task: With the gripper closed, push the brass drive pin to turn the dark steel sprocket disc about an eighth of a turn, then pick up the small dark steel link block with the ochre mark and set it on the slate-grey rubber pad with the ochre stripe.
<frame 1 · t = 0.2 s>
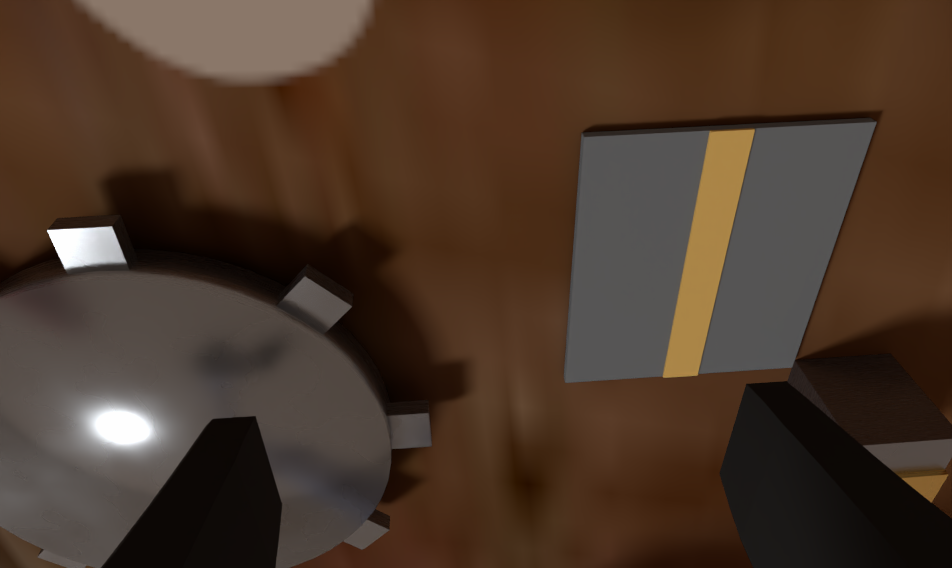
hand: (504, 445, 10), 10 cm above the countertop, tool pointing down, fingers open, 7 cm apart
pad: (699, 262, 21), on the countertop
link: (821, 404, 25), on the countertop
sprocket: (160, 485, 21), point 3 cm above the countertop, hinge at 0.0°
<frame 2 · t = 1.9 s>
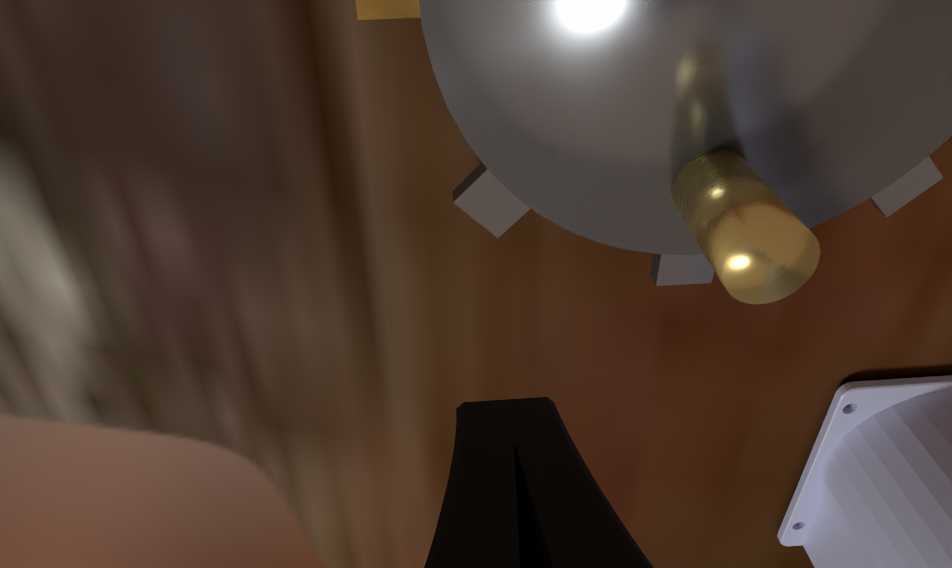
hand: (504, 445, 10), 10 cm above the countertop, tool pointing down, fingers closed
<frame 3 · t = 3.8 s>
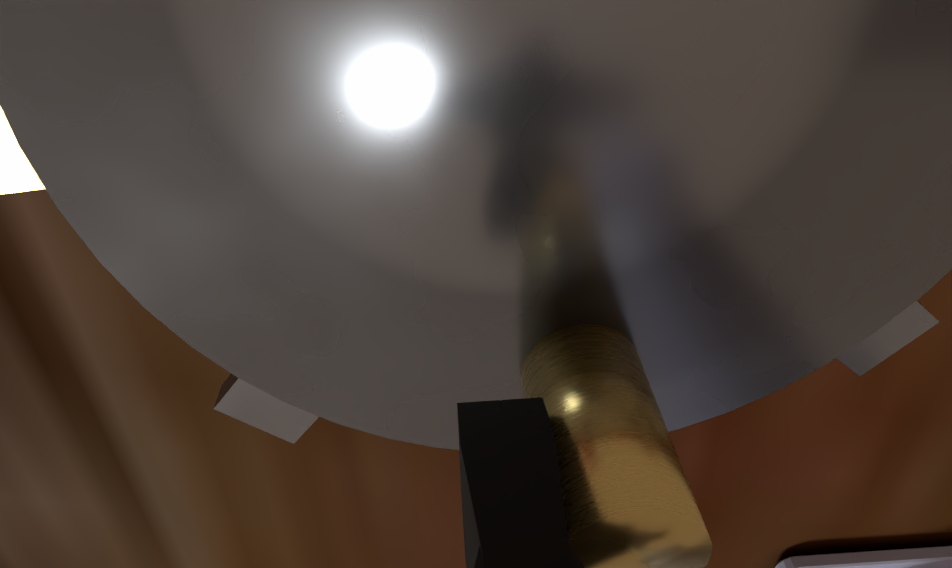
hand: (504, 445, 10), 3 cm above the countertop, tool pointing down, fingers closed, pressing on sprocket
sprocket: (591, 107, 8), point 3 cm above the countertop, hinge at 5.3°, touching gripper
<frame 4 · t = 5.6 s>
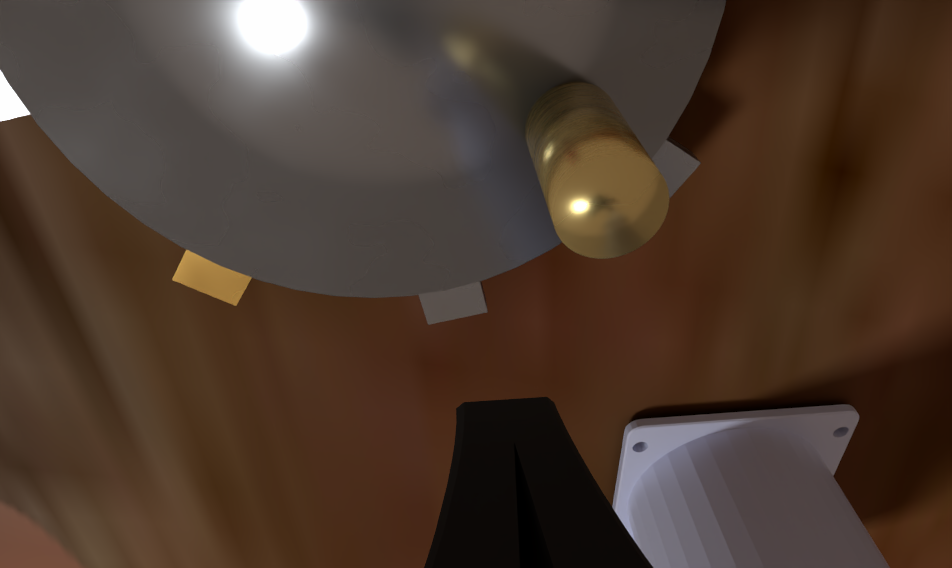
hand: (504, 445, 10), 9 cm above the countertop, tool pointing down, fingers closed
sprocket: (356, 8, 12), point 3 cm above the countertop, hinge at 55.6°
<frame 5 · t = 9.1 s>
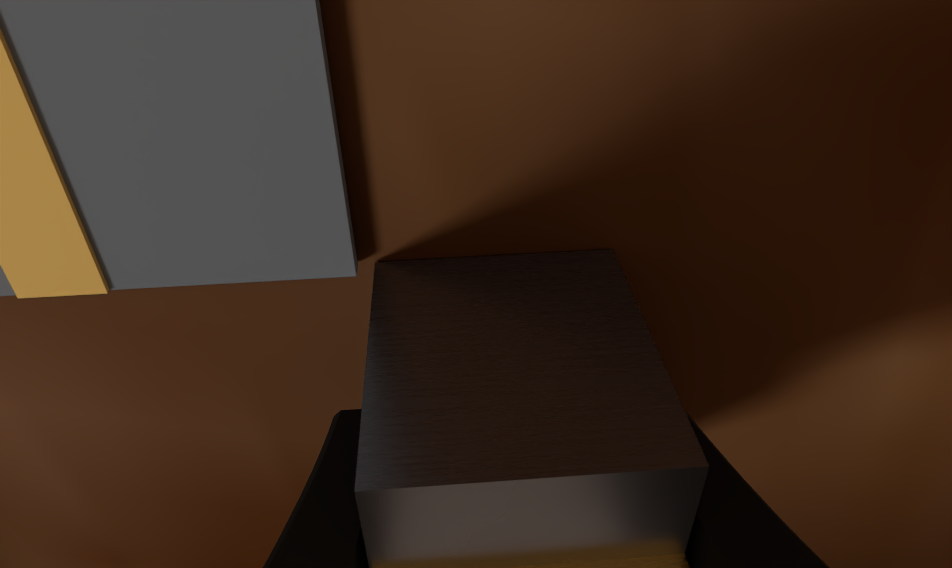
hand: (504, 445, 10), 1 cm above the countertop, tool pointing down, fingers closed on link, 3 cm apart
link: (495, 380, 11), on the countertop, touching gripper
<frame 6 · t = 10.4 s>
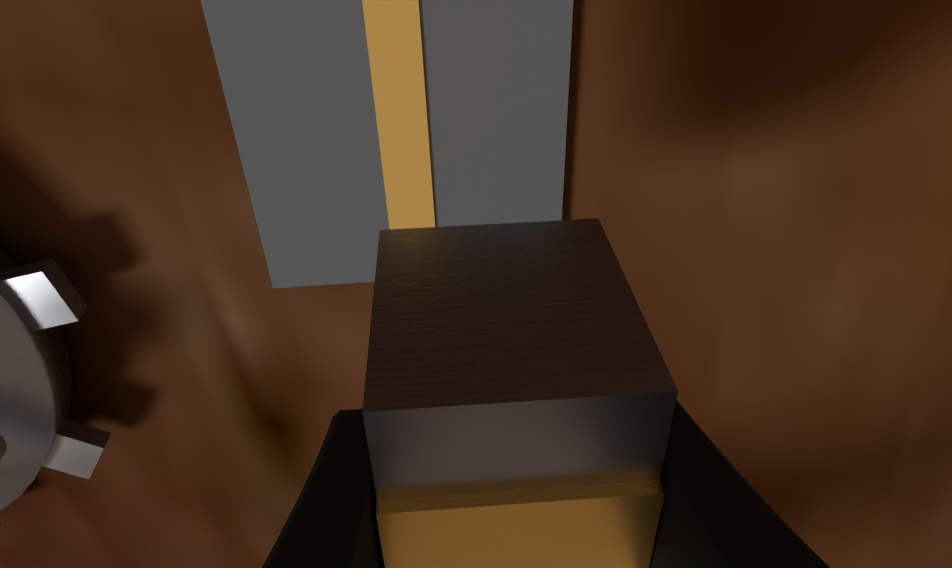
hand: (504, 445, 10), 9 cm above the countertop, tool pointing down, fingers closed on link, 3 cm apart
pad: (402, 121, 16), on the countertop
link: (490, 345, 12), point 7 cm above the countertop, touching gripper
when the fingers open (3 cm above the countertop, at t = 12.1 s): link stays where it is, resting on pad.
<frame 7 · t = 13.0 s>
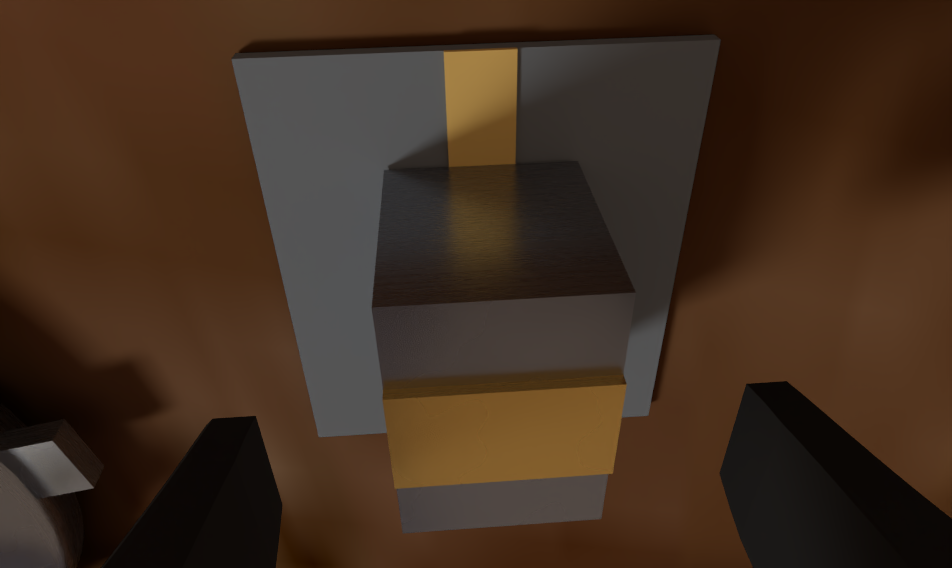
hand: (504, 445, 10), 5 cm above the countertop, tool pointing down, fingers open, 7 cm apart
pad: (482, 266, 14), on the countertop
link: (483, 278, 14), resting on pad
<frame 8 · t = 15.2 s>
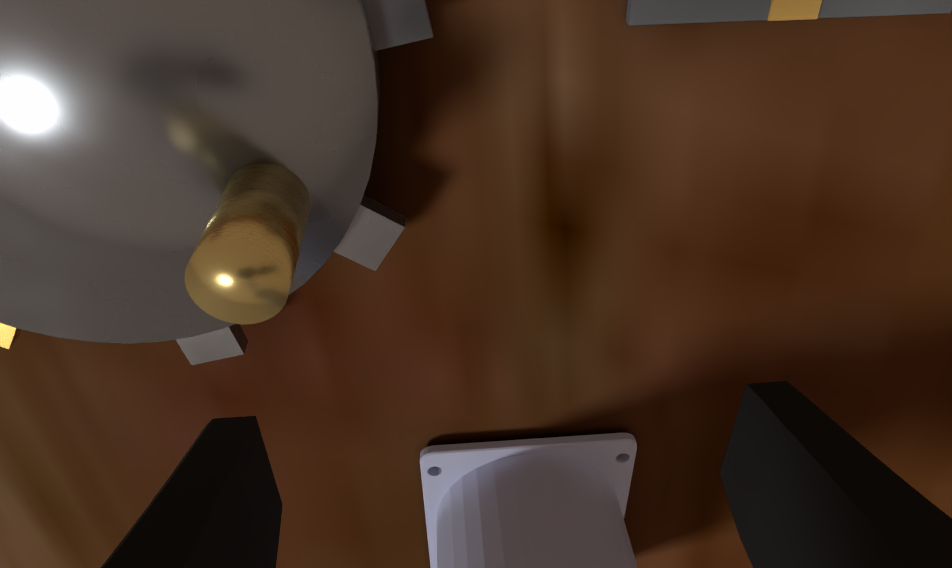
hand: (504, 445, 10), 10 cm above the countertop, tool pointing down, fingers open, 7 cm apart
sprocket: (25, 111, 14), point 3 cm above the countertop, hinge at 55.6°
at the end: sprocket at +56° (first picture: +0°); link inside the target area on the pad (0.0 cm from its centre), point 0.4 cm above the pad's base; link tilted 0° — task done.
